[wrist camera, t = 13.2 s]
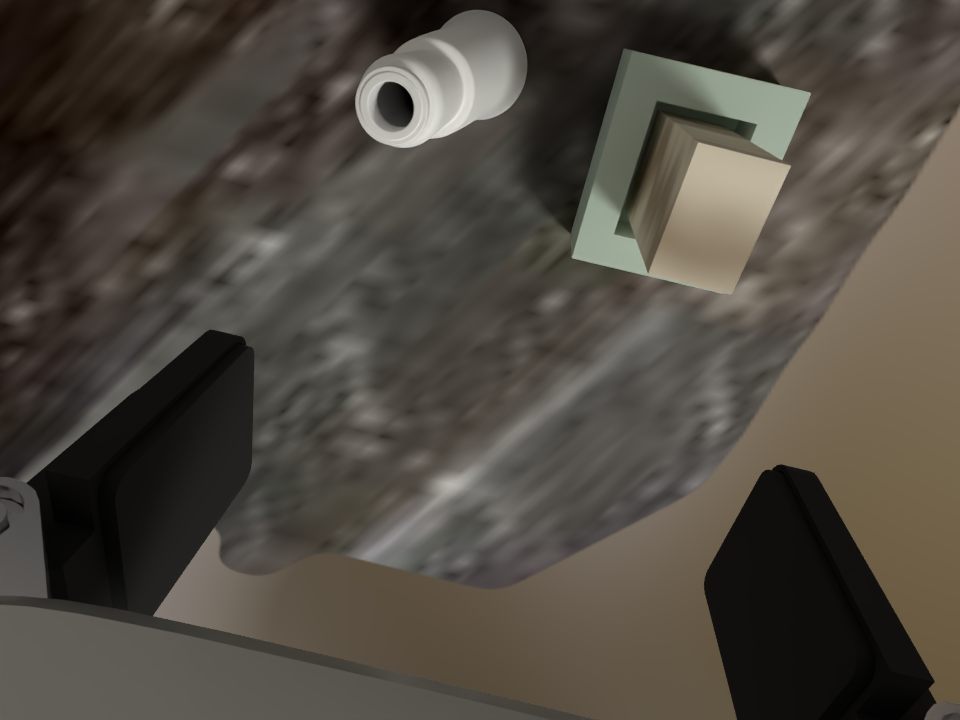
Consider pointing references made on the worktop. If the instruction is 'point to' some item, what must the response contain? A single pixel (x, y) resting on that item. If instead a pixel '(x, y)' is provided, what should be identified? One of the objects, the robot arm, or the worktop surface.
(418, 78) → the cosmetic bottle
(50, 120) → the worktop surface
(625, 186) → the end cap
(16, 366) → the worktop surface
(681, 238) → the beige rectangular block
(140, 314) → the worktop surface
